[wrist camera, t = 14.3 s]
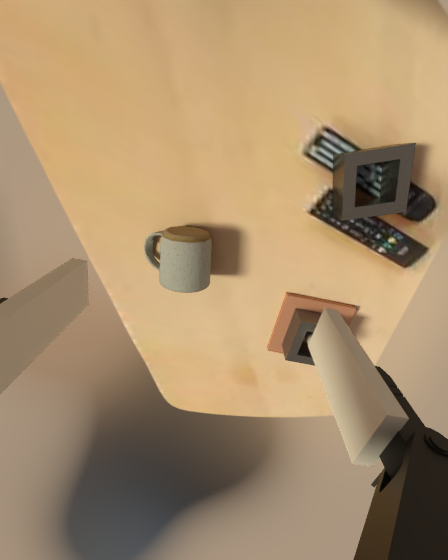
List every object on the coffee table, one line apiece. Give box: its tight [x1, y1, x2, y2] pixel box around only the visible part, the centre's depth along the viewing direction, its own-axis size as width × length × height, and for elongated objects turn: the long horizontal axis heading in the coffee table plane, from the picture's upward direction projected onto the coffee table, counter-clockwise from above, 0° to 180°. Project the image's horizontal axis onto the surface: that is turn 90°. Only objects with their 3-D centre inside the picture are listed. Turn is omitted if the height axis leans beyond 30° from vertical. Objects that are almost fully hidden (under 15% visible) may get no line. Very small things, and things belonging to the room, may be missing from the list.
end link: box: [282, 308, 322, 365], centre depth 44 cm, size 8×8×4 cm
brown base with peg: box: [268, 292, 356, 353], centre depth 43 cm, size 12×12×9 cm
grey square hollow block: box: [332, 143, 416, 220], centre depth 34 cm, size 8×8×4 cm
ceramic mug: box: [144, 226, 212, 293], centre depth 38 cm, size 11×8×8 cm
